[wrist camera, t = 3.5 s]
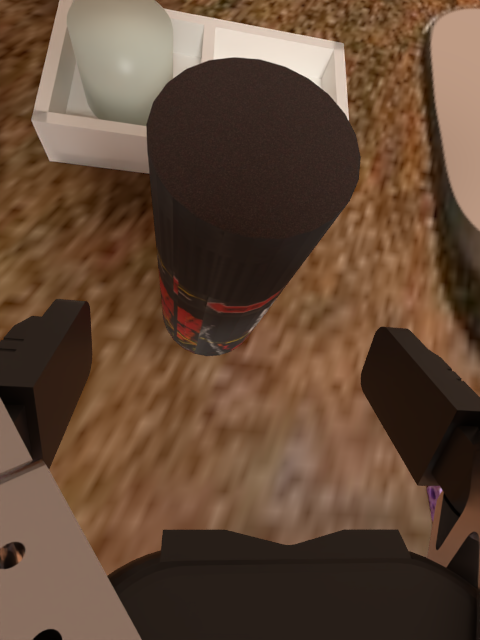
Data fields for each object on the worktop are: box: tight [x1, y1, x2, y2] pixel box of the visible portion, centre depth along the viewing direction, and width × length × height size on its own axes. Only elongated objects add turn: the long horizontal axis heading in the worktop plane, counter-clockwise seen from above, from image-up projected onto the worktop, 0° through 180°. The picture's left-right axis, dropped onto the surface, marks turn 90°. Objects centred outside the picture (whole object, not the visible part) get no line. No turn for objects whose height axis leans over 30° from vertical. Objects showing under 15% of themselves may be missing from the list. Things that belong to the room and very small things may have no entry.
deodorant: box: [146, 57, 361, 356], centre depth 17 cm, size 6×6×15 cm
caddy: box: [31, 0, 349, 174], centre depth 26 cm, size 20×11×6 cm, turn 88°
